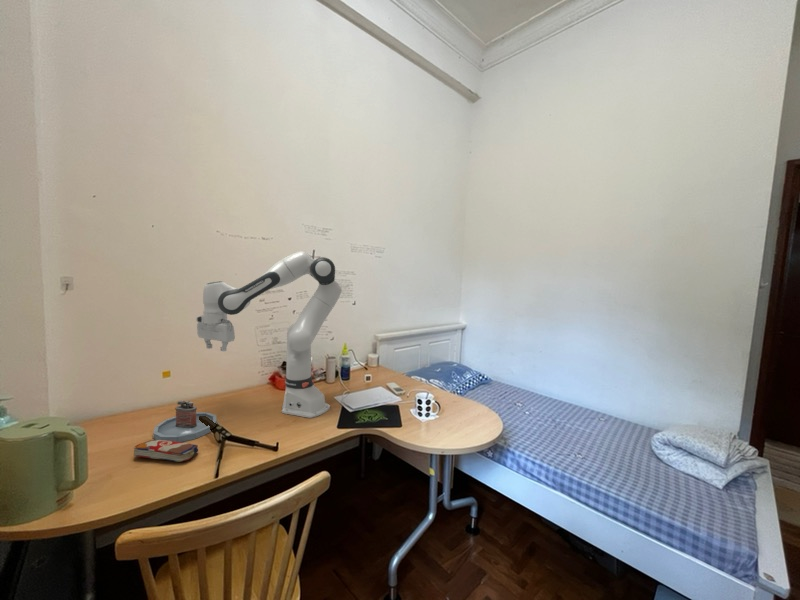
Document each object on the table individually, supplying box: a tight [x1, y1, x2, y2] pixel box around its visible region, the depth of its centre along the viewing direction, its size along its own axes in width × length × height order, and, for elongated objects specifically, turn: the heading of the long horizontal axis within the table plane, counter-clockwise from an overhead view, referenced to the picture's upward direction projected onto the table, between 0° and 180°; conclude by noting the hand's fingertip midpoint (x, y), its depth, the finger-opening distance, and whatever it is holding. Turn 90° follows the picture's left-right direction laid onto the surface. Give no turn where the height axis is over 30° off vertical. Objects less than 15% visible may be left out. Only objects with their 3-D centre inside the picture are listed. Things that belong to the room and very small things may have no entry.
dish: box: [152, 411, 218, 443], centre depth 120 cm, size 20×20×2 cm
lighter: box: [174, 400, 198, 428], centre depth 120 cm, size 8×3×10 cm, turn 85°
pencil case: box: [133, 439, 199, 462], centre depth 102 cm, size 11×20×5 cm, turn 71°
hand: (216, 349), depth 135 cm, fingers open, 8 cm apart
